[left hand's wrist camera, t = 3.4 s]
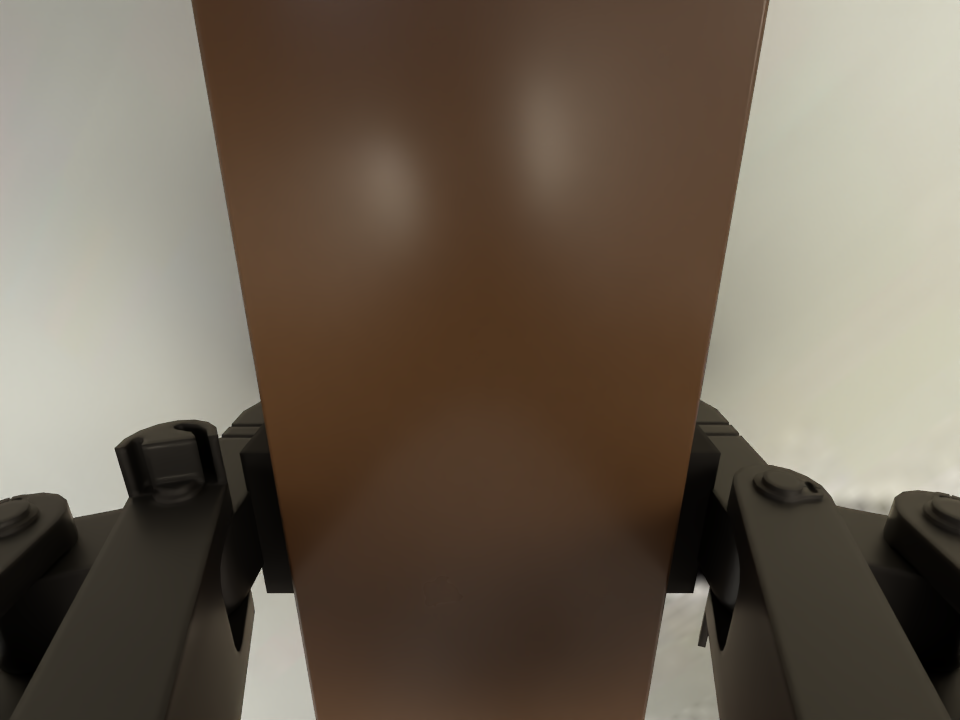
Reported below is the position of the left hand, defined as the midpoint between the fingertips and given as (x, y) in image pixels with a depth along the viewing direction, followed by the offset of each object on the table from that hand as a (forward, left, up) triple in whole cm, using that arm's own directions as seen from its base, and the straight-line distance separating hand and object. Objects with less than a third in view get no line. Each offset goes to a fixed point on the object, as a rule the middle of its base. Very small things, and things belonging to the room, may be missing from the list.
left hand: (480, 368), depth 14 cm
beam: (+20, 0, -1) cm, 20 cm away
